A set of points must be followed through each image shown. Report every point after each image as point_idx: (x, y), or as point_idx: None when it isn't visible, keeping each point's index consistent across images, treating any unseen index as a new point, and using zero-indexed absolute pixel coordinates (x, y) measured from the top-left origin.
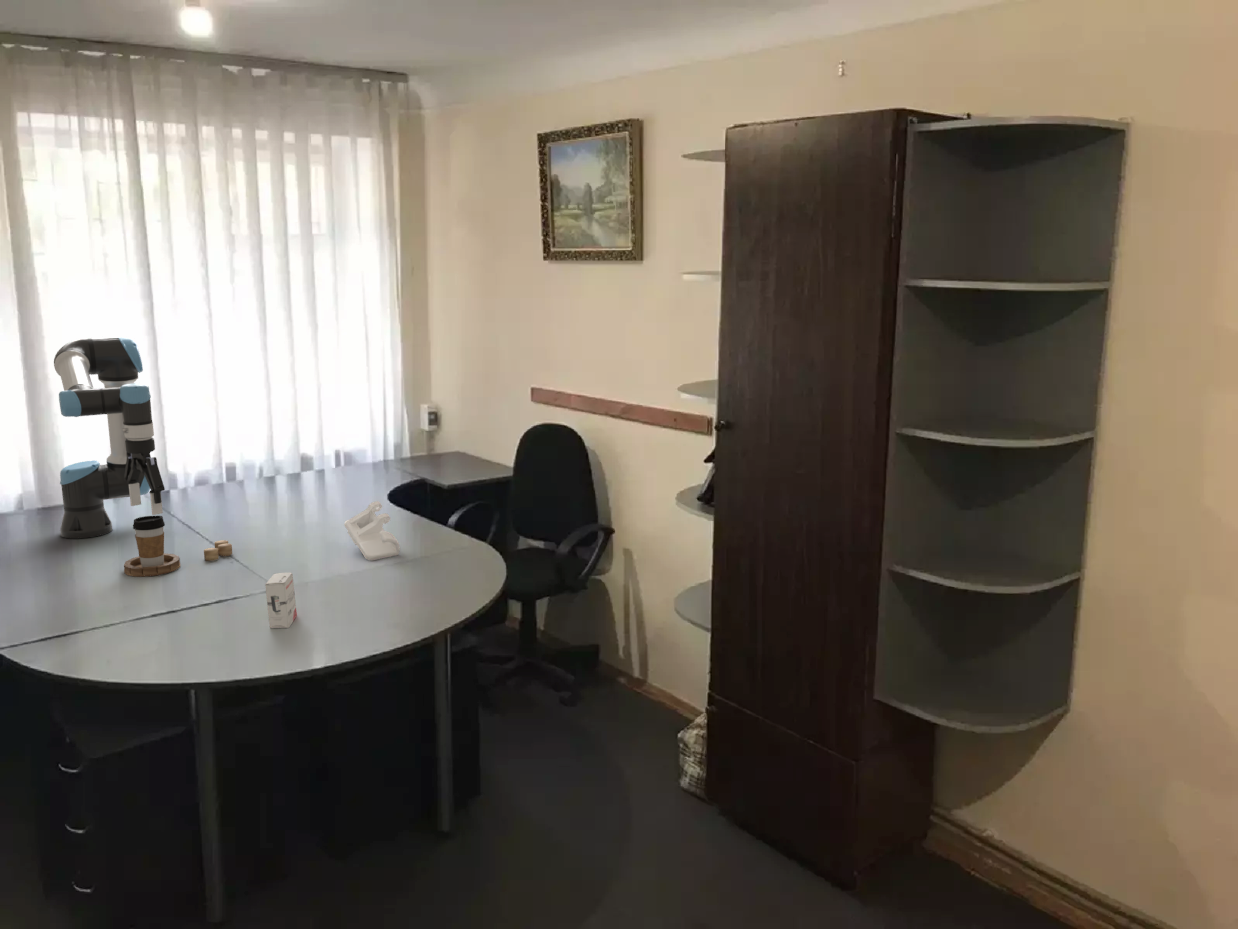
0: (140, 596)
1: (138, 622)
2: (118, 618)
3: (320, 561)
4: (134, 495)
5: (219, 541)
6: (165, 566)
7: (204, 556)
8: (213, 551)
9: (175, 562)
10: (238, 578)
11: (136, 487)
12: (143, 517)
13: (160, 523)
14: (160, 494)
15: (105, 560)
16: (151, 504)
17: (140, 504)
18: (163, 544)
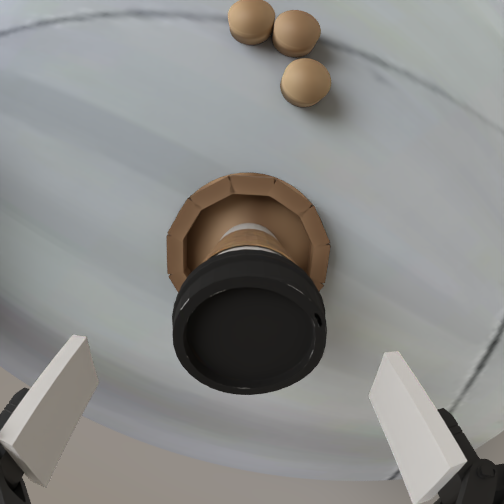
0: (406, 357)
1: (475, 387)
2: (443, 403)
3: (493, 10)
4: (67, 410)
5: (238, 14)
6: (328, 258)
7: (299, 104)
8: (330, 85)
9: (319, 219)
10: (486, 166)
11: (38, 439)
12: (183, 336)
13: (322, 306)
14: (473, 450)
15: (82, 289)
16: (391, 440)
17: (86, 340)
18: (284, 249)
